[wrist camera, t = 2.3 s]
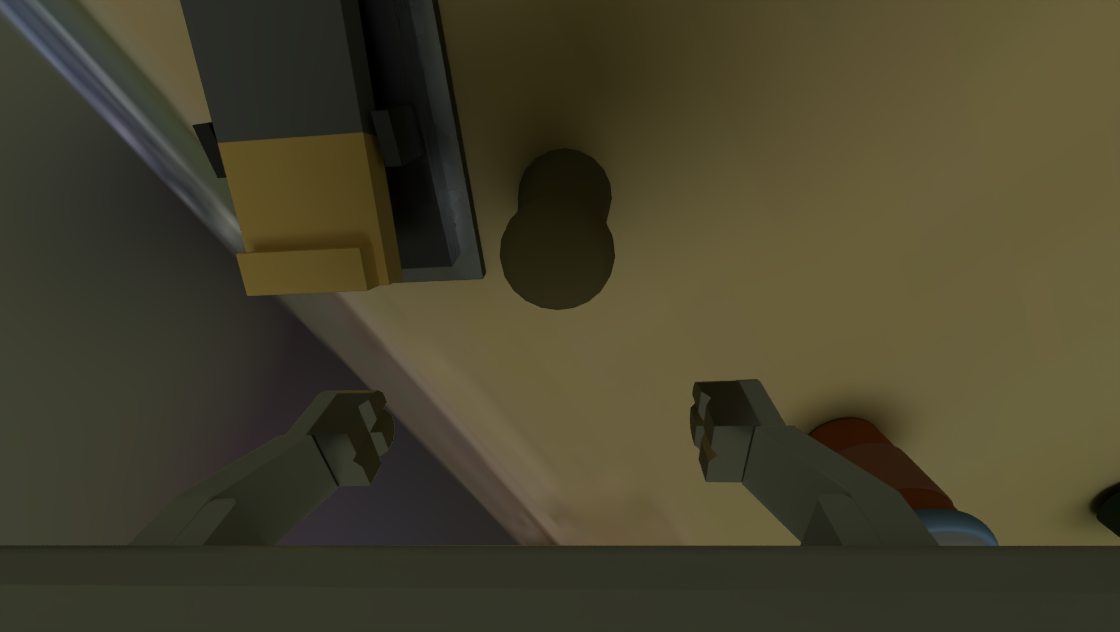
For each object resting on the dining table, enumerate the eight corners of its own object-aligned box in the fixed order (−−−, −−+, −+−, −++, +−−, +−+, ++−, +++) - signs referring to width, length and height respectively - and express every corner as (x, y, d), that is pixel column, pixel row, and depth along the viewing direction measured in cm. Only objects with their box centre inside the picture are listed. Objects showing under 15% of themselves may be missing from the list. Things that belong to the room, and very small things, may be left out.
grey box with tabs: (181, -85, 21) (29, -141, 15) (417, -113, 20) (350, -183, 14) (326, 280, 31) (269, 328, 25) (485, 272, 30) (463, 321, 24)
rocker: (203, -19, 19) (140, -55, 16) (352, -35, 18) (311, -74, 16) (278, 284, 23) (237, 296, 20) (402, 278, 22) (377, 290, 20)
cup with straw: (775, 423, 36) (917, 688, 21) (891, 390, 34) (1149, 663, 18) (795, 485, 40) (927, 745, 25) (900, 460, 38) (1118, 731, 22)
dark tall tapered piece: (629, 209, 27) (654, 286, 18) (555, 258, 29) (542, 351, 20) (575, 127, 25) (571, 166, 15) (498, 187, 27) (454, 254, 17)
